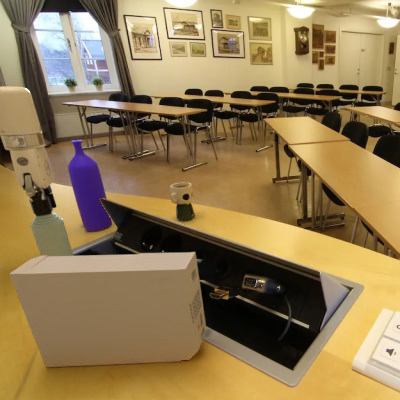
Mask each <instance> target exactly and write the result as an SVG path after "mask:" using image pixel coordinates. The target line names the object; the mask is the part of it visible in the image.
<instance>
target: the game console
mask: <svg viewBox="0 0 400 400" xmlns="http://www.w3.org/2000/svg"><path fill="white" fill-rule="evenodd" d="M9 277H10V280H11V282H12V285H13V288H14V290H15V293H16V295H17V298H18V300H19V303H20V305H21V308H22V310H23V313H24V315H25V318H26V321H27V323H28V326H29V328H30V331H31V333H32V336H33V339H34V341H35V344H36V347H37V348H38V352H39V355H40V356H41V359H42V362H43V365H44V367H45V368H59V367H60V368H61V367H62V368H64V367H83V366H84V367H85V366H108V365H128V364H130V365H131V364H152V363H172V362H182V361H181V360H189V361H190V360H191V359H192V357H194V356H195V355H196V354H197V353H198V352H199V350H200V348H201V345H202V342H203V338H204V336H205V333H206V331H207V325H206V323H207V322H206V316H205V310H204V303H203V302H204V301H203V296H202V288H201V281H200V275H199V268H198V261H197V254H196V251H190V252H140V253H137V254H136V253H135V254H134V253H133V254H97V255H94V254H93V255H91V254H89V255H74V256H48V255H44V256H41V255H38V256H36V257H32V258H30V259H28V260H27V261H26V262H24V263H23V264H20V266H18V267H17V268H16V269H14V270H12V271H11V272H9Z"/></svg>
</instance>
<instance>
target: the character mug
mask: <svg viewBox="0 0 400 400" xmlns="http://www.w3.org/2000/svg"><path fill="white" fill-rule="evenodd" d="M169 187H170V188H169V189H170V193H171V194H170V200H171V203H172V204H175V205H176V206H175V216H176V219H178V220H181V221H188V220H191V219H193V218H195V216H196V215H195V211H194V207H193V204H192V202H193V201H194V197H195V196H194V189H193V185H192V182H187V181H182V182H176V183H173V184H170V186H169Z"/></svg>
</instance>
